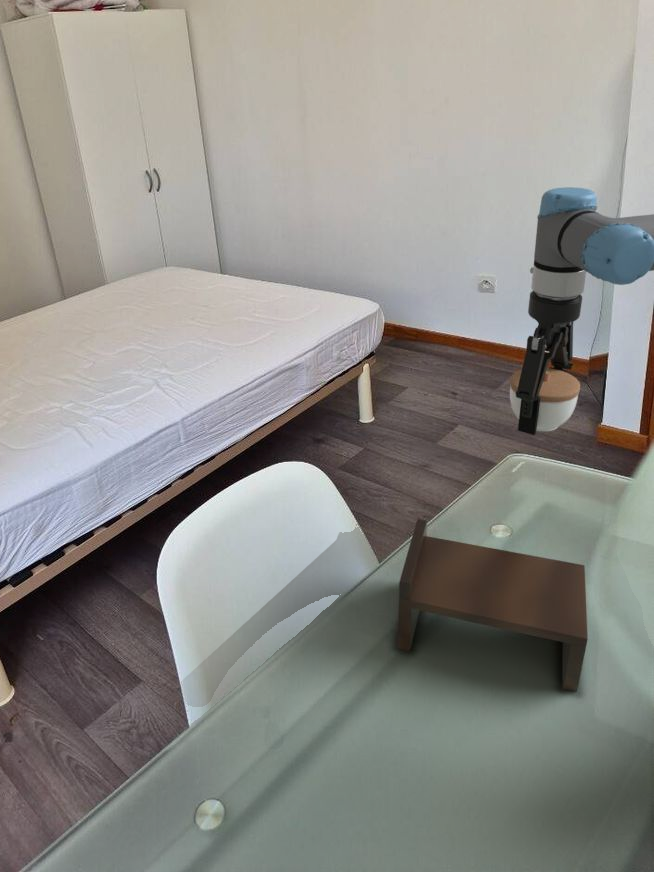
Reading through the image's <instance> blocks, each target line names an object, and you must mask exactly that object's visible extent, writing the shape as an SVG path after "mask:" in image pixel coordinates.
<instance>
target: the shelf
mask: <svg viewBox="0 0 654 872" xmlns="http://www.w3.org/2000/svg"><path fill="white" fill-rule="evenodd" d="M427 531H428V520H426V519H420V518H417V519H416V522H415V526H414V529H413V533H412V536H411V540H410V543H409V547H408V549H407V550H408V551H407V554H406V557H405V561H404V564H403V568H402V571H401V575H400V577H399V583H398V584H399V585H398V612H397V613H398V614H397V615H398V616H397V646H396V647H397V650H401V651H405V652H411V648H412V645H413V641H414V635H415V632H416V627H417V623H418V619H419V615H420V612H424V613H428V614H432V615H438V616H441V617H446V618H451V619H456V620H461V621H463V622H464V621H465V622H470V623H473V624H477V625H478V624H479V625H483V626H487V627H492V628H496V629H501V630H506V631H511V632H515V633H519V634H524V635H529V636H533V637H538V638H543V639H547V640H551V641H555V642H560V643H562V689H563V690H566V691H567V690H568V691H571V692H575V693H577V692H578V690H579V684H580V679H581V676H582V675H581V674H582V669H583V664H584V661H585V660H584V659H585V654H586V650H587V644H588V640H589V636H588V615H587V614H588V612H587V611H588V609H587V590H586V589H587V588H586V566H585V564H580V563H575V562H569V561H564V560H558V559H553V558H548V557H542V556H537V555H531V554H525V553H521V552H516V551H509V550H504V549H500V548H499V549H498V548H494V547H487V546H482V545H477V544H472V543H466V542H461V541H455V540H451V539H444V538H439V537H434V536H428V535H427Z"/></svg>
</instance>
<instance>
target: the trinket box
mask: <svg viewBox="0 0 654 872" xmlns="http://www.w3.org/2000/svg"><path fill="white" fill-rule="evenodd" d="M521 372H522V368H521V369H518V370H516V371H515V372H513V373H512V374H511V376H510V379H509V402H510V403H509V404H510V407H511V411H512V413H513V414H514V416H515V417H516V418H517V420H519V415H520V406H521V399H520V398H516V391H517V389H518V385H519V380H520V376H521ZM580 391H581V383H580V381H579V380H578V379H577V378H576V377H575V376H574V375H572V374H571V373H569V372H567V371H566V372H563V371H560V370H556V369H551V368H550V367H547V370H546V373H545V377H544V380H543V383H542V386H541V389H540V393H539V396H538V397H539V398H540V406H539V414H538V422H537V430H536V432H542V433H543V432H552V431H555V430H557V429H558V428H559V427H560V426H562V425H563V424H565V423H567V421H568V420H569V419H570V418H571V417H572V415H573V414H574V411H575V409H576V406H577V404H578V398H579V393H580Z"/></svg>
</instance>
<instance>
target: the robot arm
mask: <svg viewBox="0 0 654 872" xmlns="http://www.w3.org/2000/svg"><path fill="white" fill-rule="evenodd" d="M597 197H598V196H597V195H596V192H594V191H593V190H592V189H589V188H584V187H575V186H574V187H572V186H569V187H568V186H567V187H566V186H565V187H556V188H555V187H554V188H551V189H548V190H547V191H545V192H544V193H543V194H542V196H541V201H540V206H539V213H538V215H537V216H536V217H537V222H536V223H537V224H536V236H535V245H534V254H533V255H534V256H533V259H534V260H533V266H531V268H530V269H529V273H530V274H531V275H532V277H531V286H530V288H531V290H532V291H531V292H530V293H529V299H528V309H527V313H528V315H529V316H530V318H532V320H533V319H534V320H535V321H536V322H537V323H538V325H537V327H535V330H534V332H533V335H528V337H527V339H526V350H525V354H524V358H523V364H522V368H521V369H522V372H521V376H520V380H519V385H518V389H517V391H516V398H520V399H521V406H520V415H519V419H518V424H517V431H518V432H521V433H524V434H528V435H532V436H535V435H536V434H537V431H536V430H537V422H538V414H539V406H540V398H539V397H538V396H539V393H540V389H541V386H542V383H543V380H544V377H545V373H546V370H547V368H551V369H556V370H560V371H563V372H566V373H567V370H568V371H572V369H573V367H574V363H571V362H572V361H573V357H574V356H573V353H574V351H573V350H574V349H573V348H574V322H577V320H578V319H580V316H581V312H582V311H581V310H582V304H583V296H582V294H583V293H584V291H585V284H586V278H587V273H588V274H590V275H591V276H592V277H595V278H596V279H597V280H602V281H603V282H607V283H611V284H613V285H618V286H625V285H630V284H633V283H635V282H636V281H637V280H639V279H641V278H643V277H644V276H645V275H646V274H648V272H652V271H654V213H652V214H645V215H644V214H642V215H634V216H633V215H632V216H622V217H610V216H608V215H607V216H606V215H604V214H601V213H599V212H597V211H596V210H597V209H598V206H597ZM549 364H551V366H549Z"/></svg>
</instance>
